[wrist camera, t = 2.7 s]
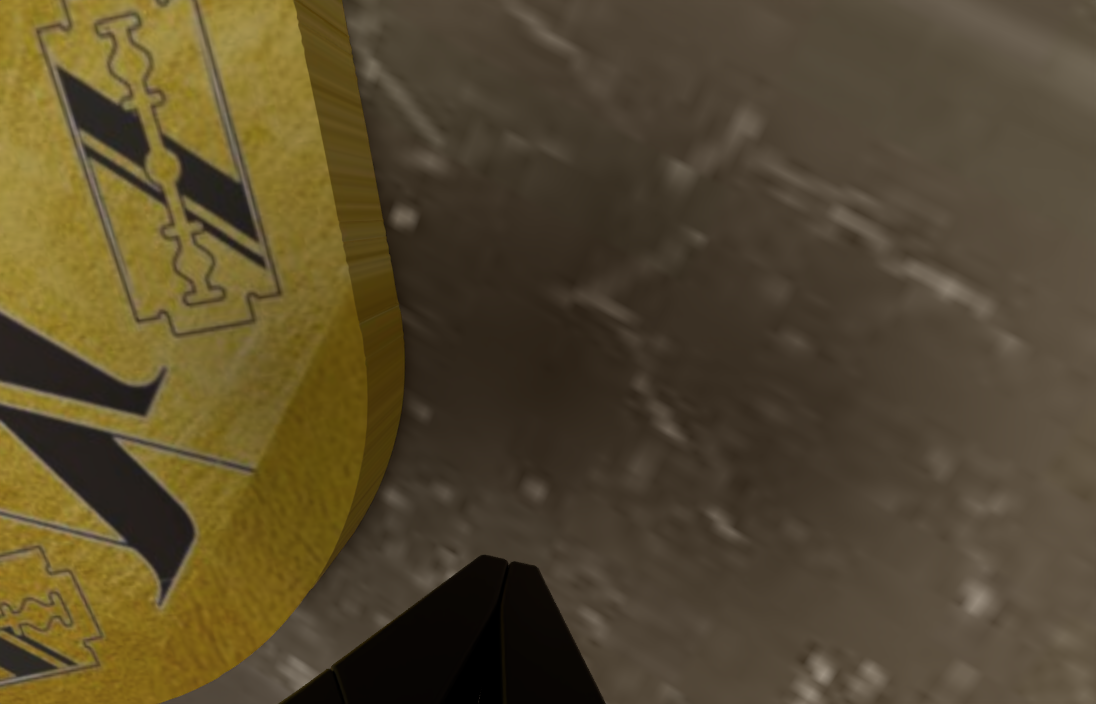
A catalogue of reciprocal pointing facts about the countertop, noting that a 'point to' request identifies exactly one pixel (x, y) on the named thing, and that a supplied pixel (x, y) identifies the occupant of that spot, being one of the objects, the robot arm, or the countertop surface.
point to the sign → (181, 335)
